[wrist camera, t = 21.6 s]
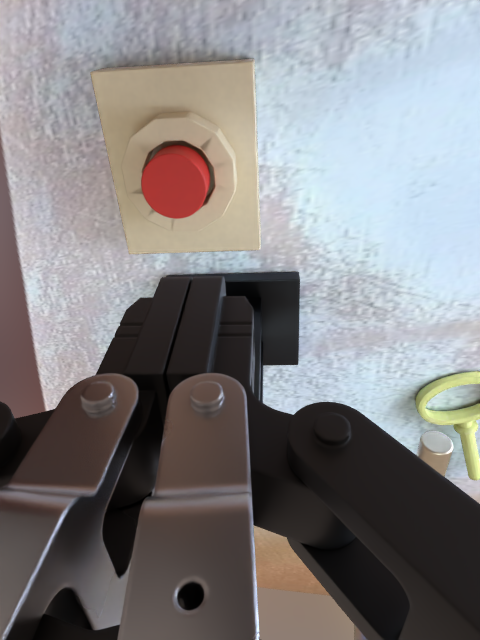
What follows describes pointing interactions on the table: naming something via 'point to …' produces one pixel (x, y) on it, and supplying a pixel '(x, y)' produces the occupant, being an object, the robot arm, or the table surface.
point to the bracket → (269, 316)
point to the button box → (191, 131)
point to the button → (176, 181)
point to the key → (455, 416)
